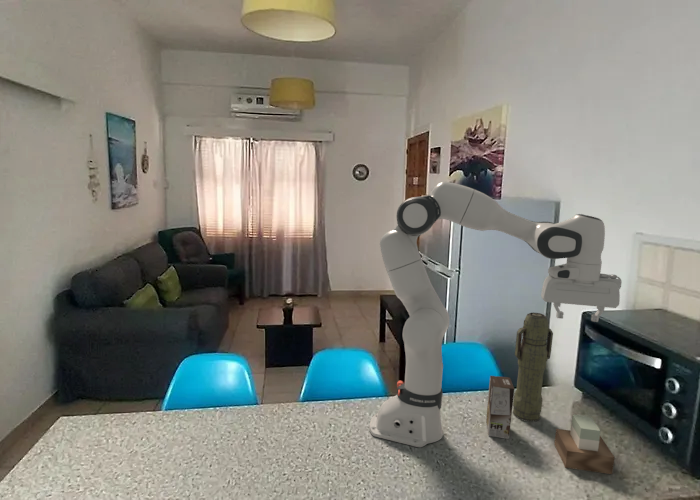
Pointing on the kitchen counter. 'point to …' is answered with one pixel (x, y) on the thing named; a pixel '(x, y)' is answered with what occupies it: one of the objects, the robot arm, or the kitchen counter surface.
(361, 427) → the kitchen counter surface
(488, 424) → the coffee box
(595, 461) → the walnut stand
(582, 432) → the block
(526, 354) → the thermos
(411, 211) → the robot arm
